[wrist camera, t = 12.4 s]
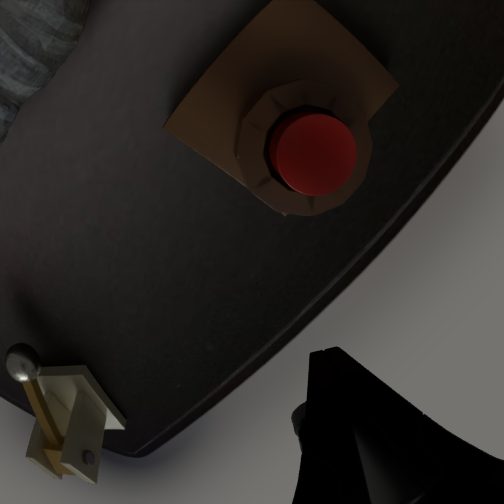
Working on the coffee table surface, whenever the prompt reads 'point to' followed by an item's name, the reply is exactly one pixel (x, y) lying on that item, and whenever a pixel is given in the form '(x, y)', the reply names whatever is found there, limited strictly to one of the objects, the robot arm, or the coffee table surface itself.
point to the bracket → (74, 420)
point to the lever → (36, 399)
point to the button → (313, 152)
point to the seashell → (34, 47)
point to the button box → (282, 99)
